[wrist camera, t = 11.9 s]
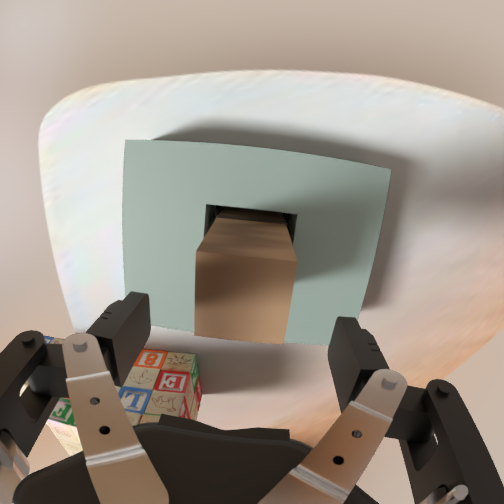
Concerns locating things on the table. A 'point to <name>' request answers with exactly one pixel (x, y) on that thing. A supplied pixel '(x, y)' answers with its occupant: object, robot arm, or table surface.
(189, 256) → the socket board
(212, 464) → the robot arm
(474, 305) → the table surface
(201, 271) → the walnut peg
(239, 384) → the table surface
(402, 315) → the table surface
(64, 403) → the stack of blocks
